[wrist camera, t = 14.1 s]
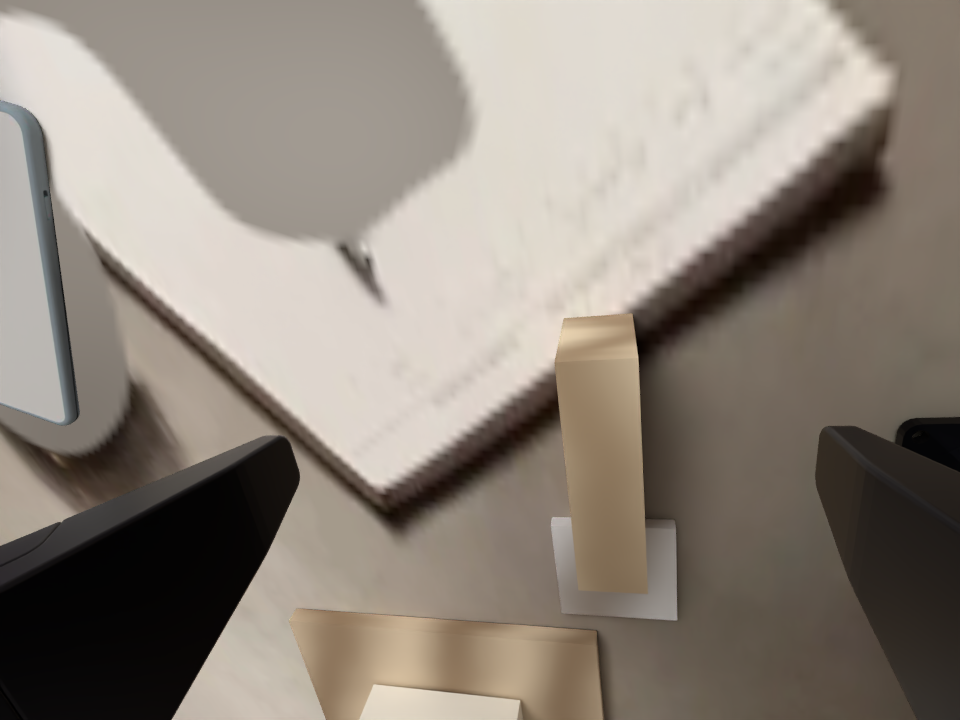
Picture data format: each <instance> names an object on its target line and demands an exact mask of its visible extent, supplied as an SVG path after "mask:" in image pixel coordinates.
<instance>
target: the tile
mask: <svg viewBox="0 0 960 720" xmlns="http://www.w3.org/2000/svg"><path fill="white" fill-rule="evenodd" d="M359 720H523V714H522V708H521V703H520V700H514V699H505V698H495V697H486V696H477V695H468V694H459V693H449V692H440V691H431V690H422V689H413V688H403V687H394V686H385V685H376V684H374V685H373V687H372V690H371V692H370V695H369V697H368V699H367V702H366V704H365V707H364V709H363V712H362V714H361V716H360V719H359Z"/></svg>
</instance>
